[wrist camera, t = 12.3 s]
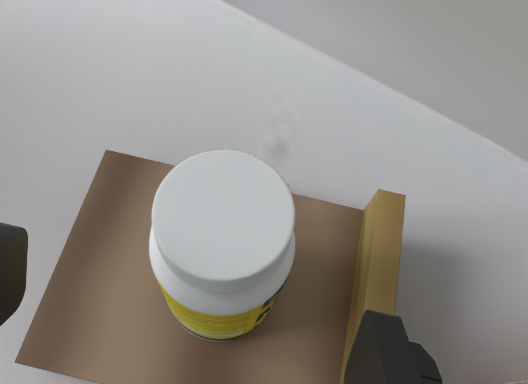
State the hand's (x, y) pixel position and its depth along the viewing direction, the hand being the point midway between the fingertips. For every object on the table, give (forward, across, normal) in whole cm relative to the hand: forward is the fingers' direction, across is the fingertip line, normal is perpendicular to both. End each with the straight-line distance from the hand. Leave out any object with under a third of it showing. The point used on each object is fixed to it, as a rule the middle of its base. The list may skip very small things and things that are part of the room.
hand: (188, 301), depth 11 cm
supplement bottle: (+9, 0, +5) cm, 10 cm away
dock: (+11, 0, +7) cm, 12 cm away
